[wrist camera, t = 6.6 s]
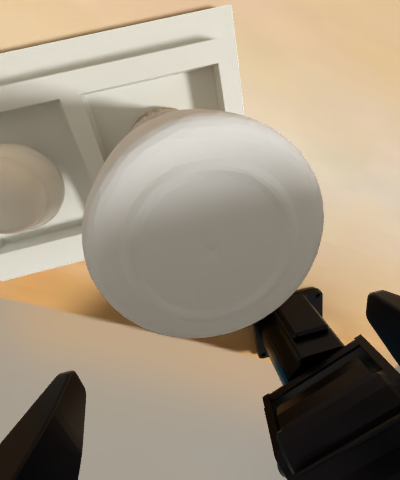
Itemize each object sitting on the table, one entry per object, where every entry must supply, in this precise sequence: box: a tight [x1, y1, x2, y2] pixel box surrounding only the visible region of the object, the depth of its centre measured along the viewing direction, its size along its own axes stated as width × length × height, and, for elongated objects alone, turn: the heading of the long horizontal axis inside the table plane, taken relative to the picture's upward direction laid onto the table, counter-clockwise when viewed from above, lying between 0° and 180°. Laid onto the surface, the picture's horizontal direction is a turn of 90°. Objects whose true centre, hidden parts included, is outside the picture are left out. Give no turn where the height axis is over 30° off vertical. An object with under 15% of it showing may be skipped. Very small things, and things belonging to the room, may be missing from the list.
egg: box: [0, 143, 65, 234], centre depth 14 cm, size 4×4×5 cm
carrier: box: [0, 4, 245, 282], centre depth 16 cm, size 12×18×3 cm, turn 102°
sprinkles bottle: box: [81, 107, 324, 338], centre depth 11 cm, size 5×5×14 cm
